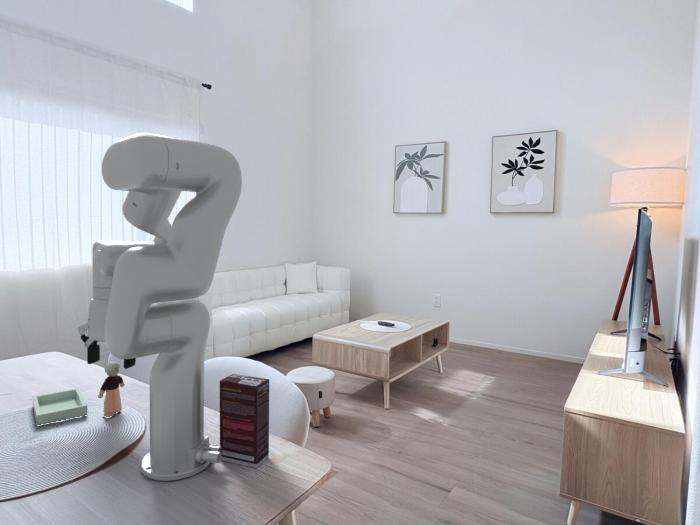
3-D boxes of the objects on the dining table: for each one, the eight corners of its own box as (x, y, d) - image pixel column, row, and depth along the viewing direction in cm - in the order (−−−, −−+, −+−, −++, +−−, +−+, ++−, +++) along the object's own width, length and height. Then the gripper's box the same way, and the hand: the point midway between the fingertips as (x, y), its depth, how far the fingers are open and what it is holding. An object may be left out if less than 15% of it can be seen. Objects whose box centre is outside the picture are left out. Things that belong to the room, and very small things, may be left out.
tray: (87, 416, 102) (87, 405, 102) (37, 427, 96) (36, 415, 96) (78, 397, 112) (78, 388, 112) (32, 406, 106) (32, 396, 106)
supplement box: (269, 457, 86) (271, 378, 85) (256, 469, 81) (257, 386, 80) (232, 448, 89) (233, 372, 88) (218, 460, 84) (218, 380, 83)
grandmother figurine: (112, 421, 100) (111, 366, 99) (95, 420, 100) (94, 366, 99) (129, 407, 107) (129, 357, 106) (114, 406, 107) (113, 356, 107)
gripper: (154, 293, 104) (154, 363, 105) (91, 288, 107) (91, 356, 108) (133, 299, 96) (133, 374, 98) (66, 292, 99) (67, 365, 101)
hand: (111, 364), depth 103 cm, fingers open, 9 cm apart
